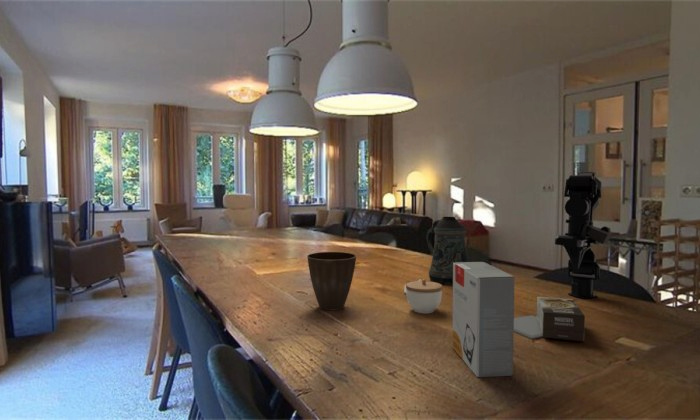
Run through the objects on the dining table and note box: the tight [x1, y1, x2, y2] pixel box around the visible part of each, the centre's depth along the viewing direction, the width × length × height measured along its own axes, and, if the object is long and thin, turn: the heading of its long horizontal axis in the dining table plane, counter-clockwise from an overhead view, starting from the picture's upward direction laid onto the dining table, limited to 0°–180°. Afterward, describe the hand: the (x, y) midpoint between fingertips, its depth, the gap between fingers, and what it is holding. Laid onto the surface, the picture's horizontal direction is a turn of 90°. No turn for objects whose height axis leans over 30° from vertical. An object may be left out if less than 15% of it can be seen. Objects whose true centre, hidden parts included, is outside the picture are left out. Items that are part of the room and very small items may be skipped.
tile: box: [514, 314, 544, 340], centre depth 114 cm, size 14×14×1 cm
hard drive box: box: [451, 261, 515, 378], centre depth 91 cm, size 16×8×20 cm, turn 5°
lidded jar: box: [405, 278, 443, 314], centre depth 129 cm, size 11×11×9 cm
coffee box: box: [536, 296, 586, 342], centre depth 110 cm, size 9×6×16 cm
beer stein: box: [426, 216, 469, 286], centre depth 170 cm, size 16×19×25 cm
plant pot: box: [306, 251, 357, 311], centre depth 133 cm, size 15×15×16 cm
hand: (576, 268), depth 131 cm, fingers closed
